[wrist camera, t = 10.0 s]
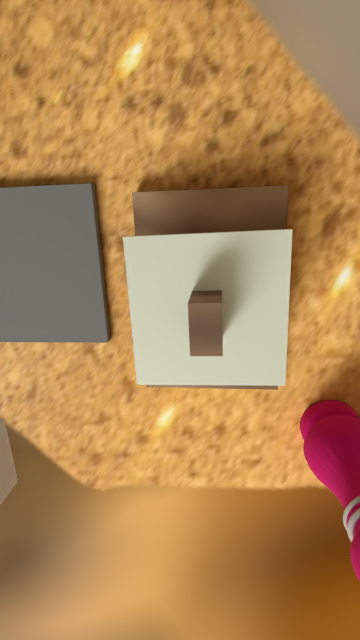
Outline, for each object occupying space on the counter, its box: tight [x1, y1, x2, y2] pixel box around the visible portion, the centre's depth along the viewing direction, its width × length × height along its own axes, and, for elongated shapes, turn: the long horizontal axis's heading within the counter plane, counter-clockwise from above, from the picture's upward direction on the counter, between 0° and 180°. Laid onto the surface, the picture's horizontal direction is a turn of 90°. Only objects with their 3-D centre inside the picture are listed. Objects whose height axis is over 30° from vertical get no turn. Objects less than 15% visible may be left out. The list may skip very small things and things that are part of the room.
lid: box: [123, 229, 293, 386], centre depth 27 cm, size 13×13×5 cm
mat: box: [0, 183, 111, 342], centre depth 36 cm, size 16×16×1 cm
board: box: [132, 185, 289, 390], centre depth 34 cm, size 20×14×2 cm
